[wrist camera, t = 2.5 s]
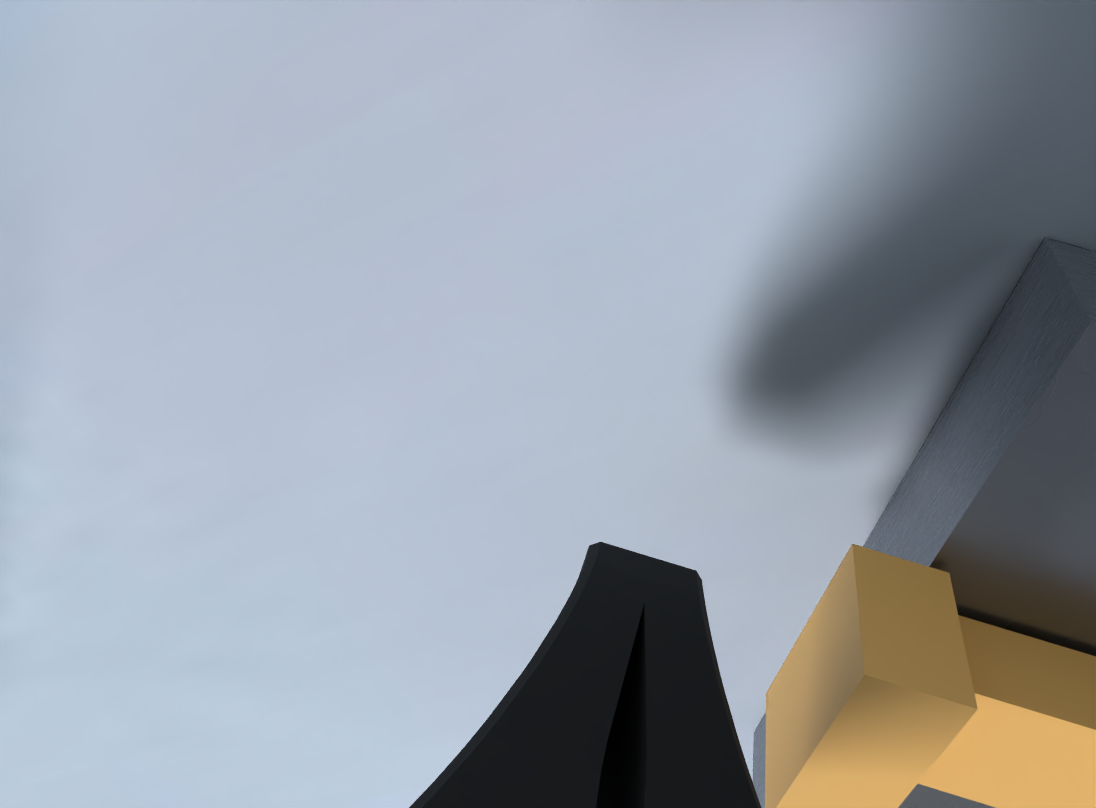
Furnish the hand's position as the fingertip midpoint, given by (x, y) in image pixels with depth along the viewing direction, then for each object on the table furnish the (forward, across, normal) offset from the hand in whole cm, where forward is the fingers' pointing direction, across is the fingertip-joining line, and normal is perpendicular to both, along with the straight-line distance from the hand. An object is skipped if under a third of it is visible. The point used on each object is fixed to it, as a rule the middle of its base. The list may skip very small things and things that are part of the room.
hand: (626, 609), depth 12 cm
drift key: (+1, -6, 0) cm, 6 cm away
